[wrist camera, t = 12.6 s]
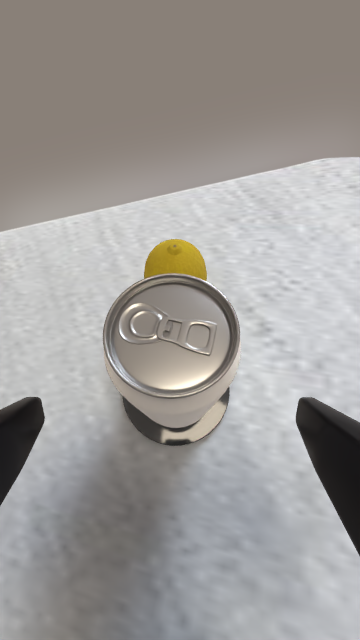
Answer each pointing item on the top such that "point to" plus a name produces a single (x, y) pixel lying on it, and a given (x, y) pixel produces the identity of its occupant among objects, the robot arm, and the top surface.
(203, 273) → the lemon
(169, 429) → the coaster
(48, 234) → the top surface
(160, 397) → the can
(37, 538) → the top surface
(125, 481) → the top surface
